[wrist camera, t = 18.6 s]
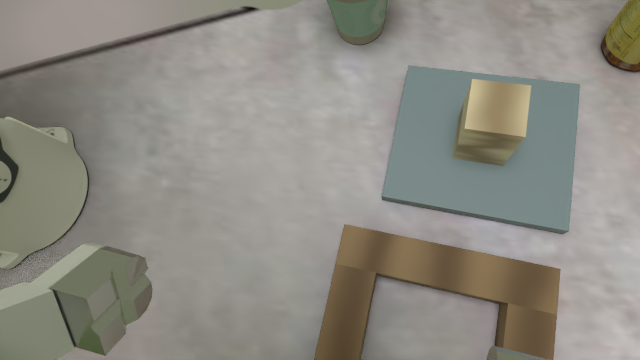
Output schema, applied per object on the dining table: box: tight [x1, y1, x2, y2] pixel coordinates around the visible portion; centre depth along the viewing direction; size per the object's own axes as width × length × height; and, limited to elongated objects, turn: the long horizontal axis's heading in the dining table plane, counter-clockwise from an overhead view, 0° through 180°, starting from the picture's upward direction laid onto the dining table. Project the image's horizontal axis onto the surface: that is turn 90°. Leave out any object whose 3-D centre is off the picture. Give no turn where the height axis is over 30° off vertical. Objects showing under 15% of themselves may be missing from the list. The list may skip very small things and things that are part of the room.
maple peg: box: [452, 79, 531, 166], centre depth 39 cm, size 5×5×8 cm
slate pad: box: [382, 66, 580, 234], centre depth 43 cm, size 18×16×2 cm
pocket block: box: [314, 224, 560, 360], centre depth 37 cm, size 20×20×3 cm
